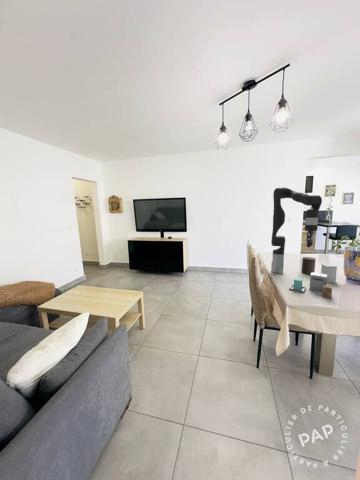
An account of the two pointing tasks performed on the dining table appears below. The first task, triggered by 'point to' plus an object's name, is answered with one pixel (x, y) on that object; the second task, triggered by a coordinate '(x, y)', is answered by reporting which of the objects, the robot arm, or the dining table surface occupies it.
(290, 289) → the tray
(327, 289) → the walnut block
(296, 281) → the teal block
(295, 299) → the dining table surface
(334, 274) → the supplement box
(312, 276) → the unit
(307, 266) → the pillar candle
